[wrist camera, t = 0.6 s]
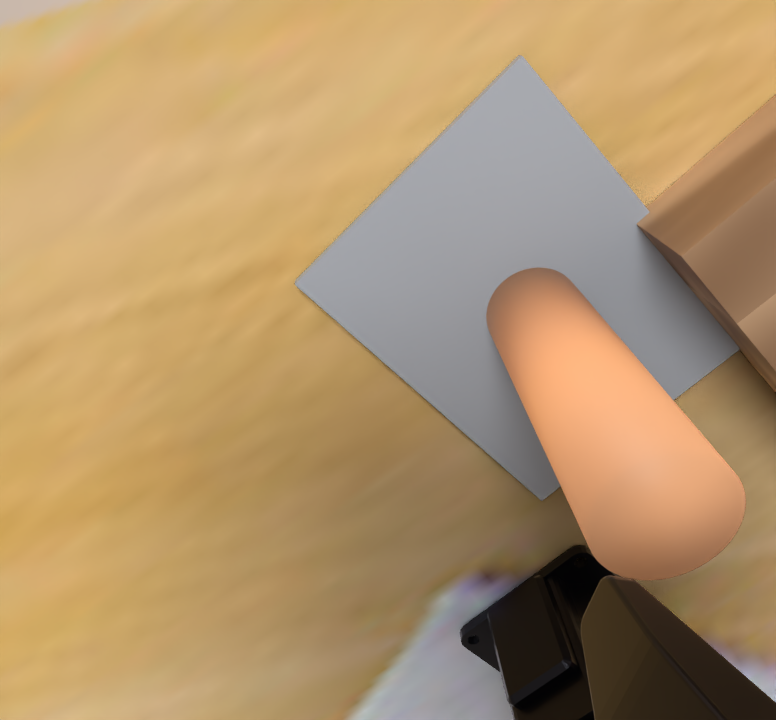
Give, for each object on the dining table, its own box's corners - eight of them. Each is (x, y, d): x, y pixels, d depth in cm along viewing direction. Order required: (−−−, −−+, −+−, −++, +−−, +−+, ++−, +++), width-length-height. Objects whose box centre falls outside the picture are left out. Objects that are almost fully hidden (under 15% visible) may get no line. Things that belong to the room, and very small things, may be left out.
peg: (599, 311, 22) (775, 516, 13) (526, 372, 23) (646, 603, 14) (540, 247, 21) (687, 422, 12) (466, 314, 22) (554, 523, 13)
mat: (747, 333, 23) (753, 338, 23) (538, 494, 26) (541, 500, 25) (518, 55, 19) (521, 55, 19) (295, 279, 21) (294, 284, 21)
